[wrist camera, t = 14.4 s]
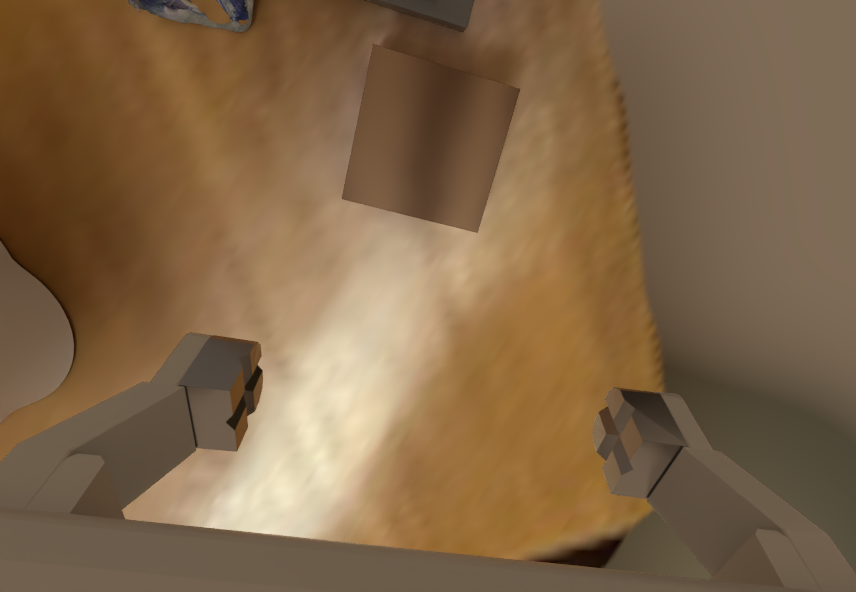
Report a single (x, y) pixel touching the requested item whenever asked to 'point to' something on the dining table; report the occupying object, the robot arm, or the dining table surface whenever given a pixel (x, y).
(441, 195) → the tea box
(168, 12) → the snack package
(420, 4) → the gray rectangular tray
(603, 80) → the dining table surface
